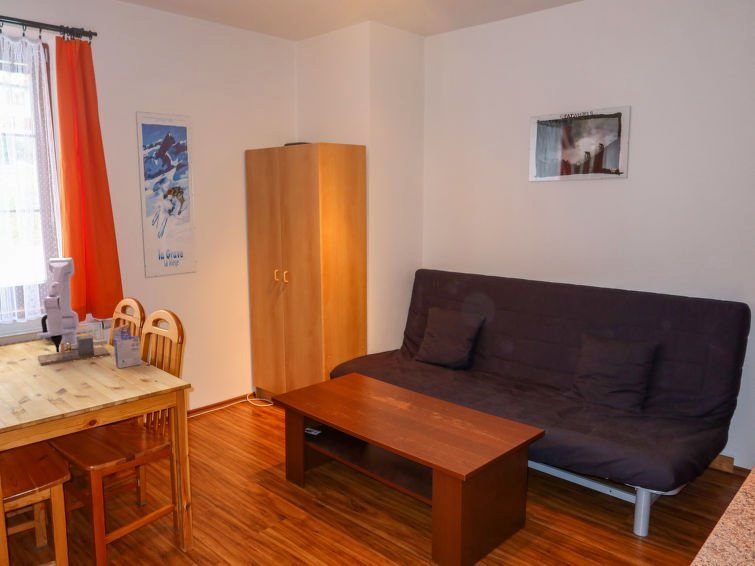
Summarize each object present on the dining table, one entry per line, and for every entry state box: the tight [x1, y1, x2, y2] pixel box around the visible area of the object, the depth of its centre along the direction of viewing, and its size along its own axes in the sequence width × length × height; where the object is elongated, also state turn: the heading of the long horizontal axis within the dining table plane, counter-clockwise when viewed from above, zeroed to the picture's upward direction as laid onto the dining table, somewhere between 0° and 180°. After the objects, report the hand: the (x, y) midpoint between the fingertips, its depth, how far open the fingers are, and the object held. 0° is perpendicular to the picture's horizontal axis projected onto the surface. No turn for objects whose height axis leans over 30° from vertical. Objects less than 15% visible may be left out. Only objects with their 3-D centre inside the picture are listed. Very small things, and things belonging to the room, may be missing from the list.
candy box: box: [111, 324, 131, 363], centre depth 268 cm, size 9×4×15 cm, turn 177°
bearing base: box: [37, 334, 111, 366], centre depth 275 cm, size 28×14×9 cm, turn 123°
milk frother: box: [40, 313, 72, 343], centre depth 306 cm, size 14×16×15 cm
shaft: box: [59, 339, 108, 355], centre depth 277 cm, size 19×5×5 cm, turn 123°
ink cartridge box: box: [112, 332, 142, 369], centre depth 260 cm, size 10×6×14 cm, turn 129°
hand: (57, 351), depth 271 cm, fingers closed
